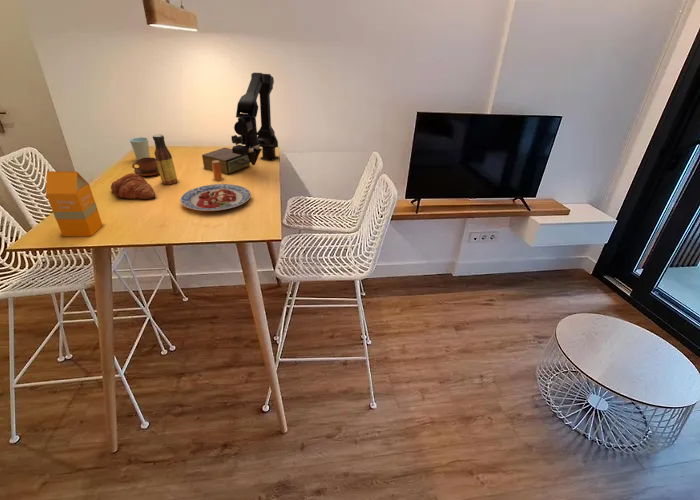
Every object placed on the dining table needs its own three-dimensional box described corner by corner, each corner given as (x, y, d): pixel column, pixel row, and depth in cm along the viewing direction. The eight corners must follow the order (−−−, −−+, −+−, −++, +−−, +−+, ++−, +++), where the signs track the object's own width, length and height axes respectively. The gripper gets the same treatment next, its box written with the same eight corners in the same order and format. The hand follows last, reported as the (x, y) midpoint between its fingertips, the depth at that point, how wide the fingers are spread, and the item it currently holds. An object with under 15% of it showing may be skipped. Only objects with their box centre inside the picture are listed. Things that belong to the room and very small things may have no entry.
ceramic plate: (179, 193, 153) (178, 186, 152) (244, 185, 162) (244, 179, 161) (183, 220, 133) (181, 212, 132) (257, 210, 142) (256, 202, 141)
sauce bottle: (180, 180, 165) (171, 133, 155) (173, 185, 160) (163, 137, 150) (165, 179, 166) (155, 133, 156) (158, 184, 160) (147, 136, 150)
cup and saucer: (139, 180, 164) (136, 166, 161) (131, 172, 172) (128, 158, 168) (168, 174, 171) (165, 161, 168) (159, 167, 179) (156, 154, 175)
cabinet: (249, 165, 185) (247, 152, 181) (227, 174, 174) (225, 160, 170) (226, 160, 190) (224, 147, 187) (204, 168, 179) (201, 154, 176)
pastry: (159, 185, 160) (155, 166, 156) (155, 199, 147) (150, 179, 143) (114, 188, 155) (108, 169, 151) (106, 203, 142) (99, 183, 138)
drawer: (257, 166, 182) (257, 156, 179) (238, 174, 171) (237, 164, 169) (228, 159, 189) (227, 150, 186) (208, 167, 178) (206, 157, 176)
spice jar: (212, 179, 168) (209, 161, 163) (218, 177, 170) (215, 159, 166) (218, 181, 166) (215, 163, 162) (224, 178, 169) (221, 161, 165)
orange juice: (91, 236, 121) (70, 176, 111) (62, 236, 121) (37, 175, 110) (103, 224, 128) (84, 167, 118) (75, 225, 127) (53, 167, 117)
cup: (155, 158, 189) (150, 137, 184) (149, 163, 182) (143, 141, 177) (139, 158, 189) (134, 137, 183) (132, 163, 182) (126, 141, 177)
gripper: (250, 123, 176) (253, 157, 184) (220, 131, 161) (225, 167, 169) (269, 127, 171) (271, 161, 179) (240, 135, 157) (244, 172, 165)
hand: (253, 165), depth 173 cm, fingers closed
